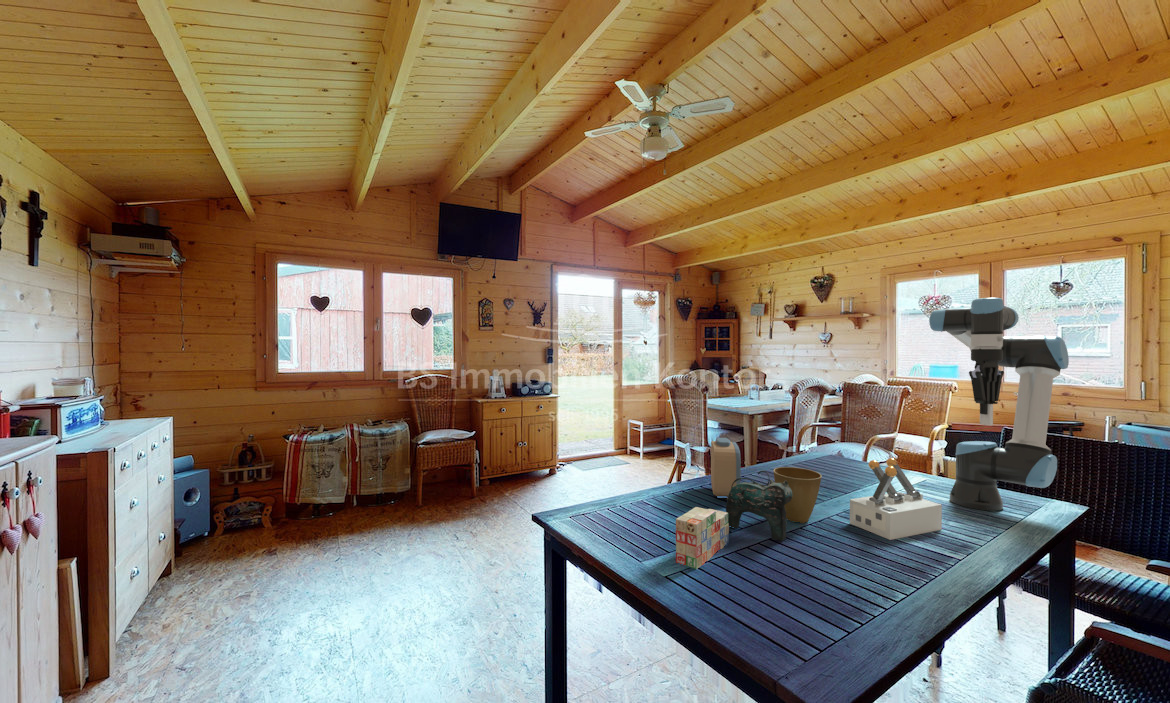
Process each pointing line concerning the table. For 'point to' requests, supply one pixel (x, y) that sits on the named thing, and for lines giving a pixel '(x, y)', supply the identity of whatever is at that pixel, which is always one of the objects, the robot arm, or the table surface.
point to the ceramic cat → (760, 504)
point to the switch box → (896, 516)
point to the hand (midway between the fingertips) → (986, 424)
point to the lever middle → (879, 474)
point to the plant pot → (799, 491)
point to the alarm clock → (724, 466)
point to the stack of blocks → (700, 535)
